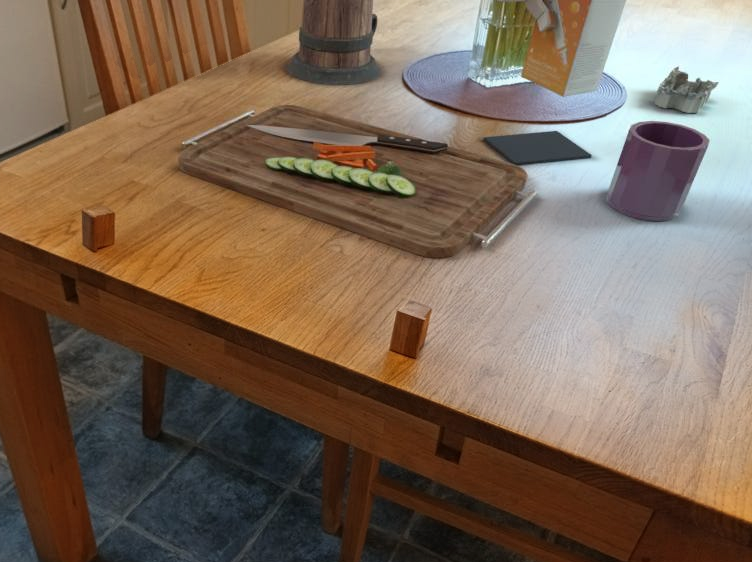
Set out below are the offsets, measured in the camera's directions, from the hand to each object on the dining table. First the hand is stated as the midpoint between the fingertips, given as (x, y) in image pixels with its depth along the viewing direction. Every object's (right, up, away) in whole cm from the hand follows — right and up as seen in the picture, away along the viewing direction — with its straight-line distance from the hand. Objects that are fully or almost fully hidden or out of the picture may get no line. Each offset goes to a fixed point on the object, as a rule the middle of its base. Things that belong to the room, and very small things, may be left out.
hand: (577, 27), depth 91 cm
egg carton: (+29, 0, +27) cm, 40 cm away
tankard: (-26, +11, +40) cm, 49 cm away
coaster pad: (-1, -12, +11) cm, 17 cm away
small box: (0, -6, +5) cm, 8 cm away
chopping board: (-29, -18, +4) cm, 34 cm away
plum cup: (+7, -23, -2) cm, 24 cm away
